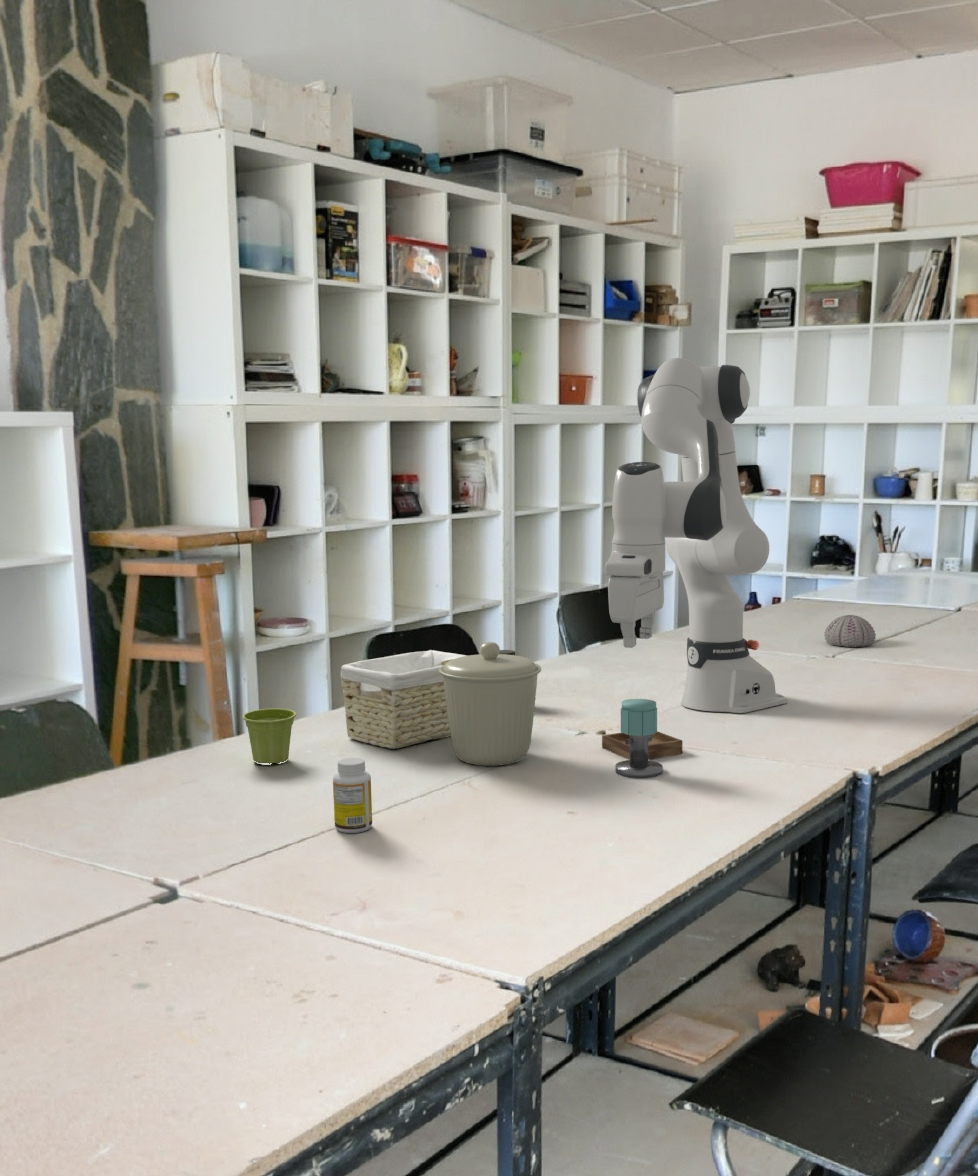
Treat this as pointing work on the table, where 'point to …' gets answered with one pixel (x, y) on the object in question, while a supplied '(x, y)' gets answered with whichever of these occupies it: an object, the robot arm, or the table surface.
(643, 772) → the post
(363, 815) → the supplement bottle
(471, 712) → the canister
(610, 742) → the walnut tray
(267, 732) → the plant pot
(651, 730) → the cap
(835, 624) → the sea urchin shell
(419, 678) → the storage basket
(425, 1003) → the table surface
